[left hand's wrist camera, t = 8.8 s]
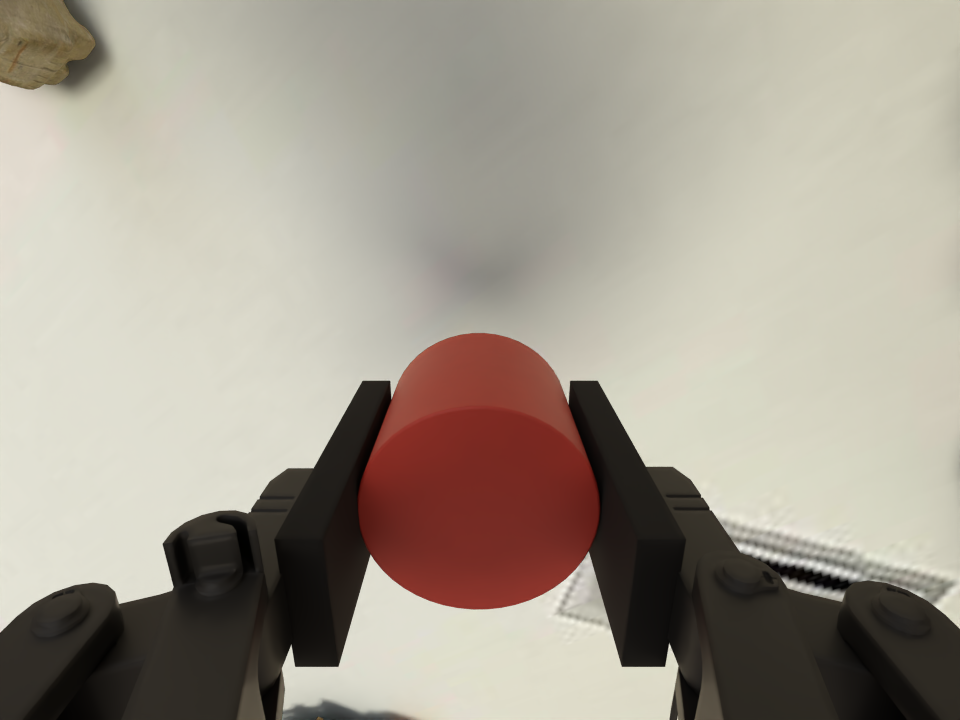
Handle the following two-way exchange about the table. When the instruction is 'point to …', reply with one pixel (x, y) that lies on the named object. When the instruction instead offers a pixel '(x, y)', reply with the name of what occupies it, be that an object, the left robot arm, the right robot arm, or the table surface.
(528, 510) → the canister
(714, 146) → the table surface
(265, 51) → the table surface
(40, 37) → the sculpture
